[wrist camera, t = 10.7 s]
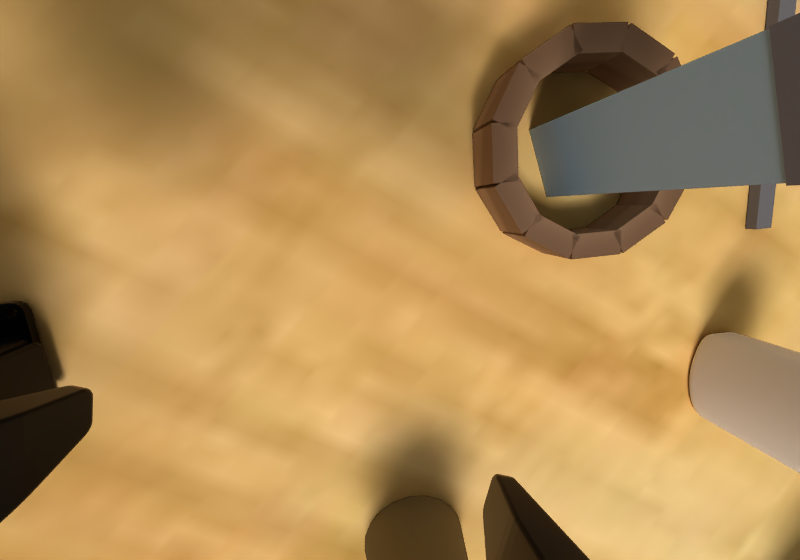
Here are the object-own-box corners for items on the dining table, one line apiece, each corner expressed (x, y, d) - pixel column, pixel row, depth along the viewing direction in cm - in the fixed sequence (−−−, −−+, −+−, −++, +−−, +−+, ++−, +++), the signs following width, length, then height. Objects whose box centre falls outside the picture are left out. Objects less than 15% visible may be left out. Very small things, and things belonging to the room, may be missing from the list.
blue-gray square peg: (546, 198, 20) (882, 180, 8) (528, 129, 19) (872, -19, 7) (607, 174, 21) (1029, 120, 8) (592, 105, 20) (1036, -78, 7)
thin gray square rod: (745, 228, 22) (756, 229, 22) (772, -40, 20) (785, -48, 19) (759, 227, 23) (771, 227, 22) (788, -40, 20) (801, -47, 19)
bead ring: (477, 260, 20) (496, 267, 18) (469, 49, 18) (488, 24, 16) (650, 242, 22) (689, 246, 19) (660, 43, 20) (705, 20, 17)
